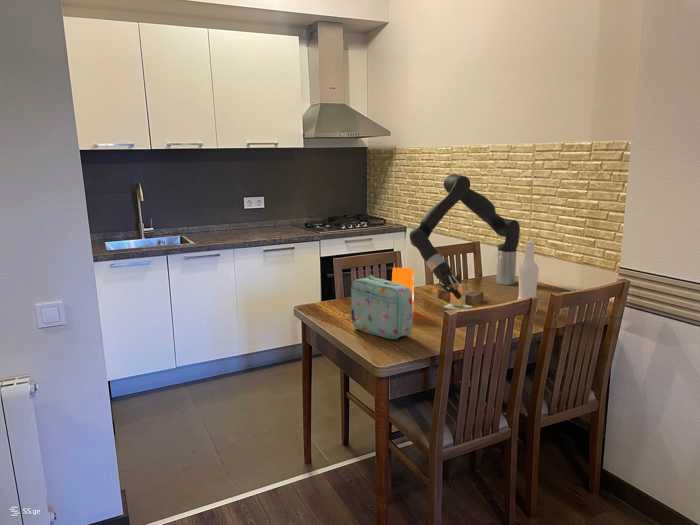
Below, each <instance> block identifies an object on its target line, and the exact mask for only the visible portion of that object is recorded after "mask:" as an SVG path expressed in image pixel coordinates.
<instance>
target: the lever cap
mask: <svg viewBox="0 0 700 525" xmlns="http://www.w3.org/2000/svg"><path fill="white" fill-rule="evenodd" d="M466 286H467V285H466V283H463V282H462V283H456V282H455V283H454V287H455V288H456V290H457V291H458V292H459V294H460V295H461V298H460V299H457V298H456V297H455V296H454V294H453V293H451V296H450V300H449V301H450V302H449V304H451V305H455V306H460V307H462V306H464V305H466V304H465V291H466V289H467V287H466Z"/></svg>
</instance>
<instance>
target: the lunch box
mask: <svg viewBox="0 0 700 525" xmlns="http://www.w3.org/2000/svg"><path fill="white" fill-rule="evenodd" d="M350 297H351V298H350V301H349V303H350V317H351V318H350V319H351V323H352V325H353V327H354V328H355V329H357V330H359V331H361V332H363V333H367V334H371V335H374V336H376V337H377V336H378V337H382V338H384V339H388V340H397V339H399V338H400V337H404V336H409V335H410V334H412V330H413V322H414V321H413V320H414V311H413V300H412V292H411V290H410V288H408V287H407V286H405V285H402V284H399V283H396V282H392V280H387V279H383V278H380V277H379V278H378V277H375V276H374V275H368V277H364V278H357V279H355V280H353V283H352V284H351V287H350Z"/></svg>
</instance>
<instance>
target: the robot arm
mask: <svg viewBox="0 0 700 525" xmlns="http://www.w3.org/2000/svg"><path fill="white" fill-rule="evenodd" d="M443 187H444V190H445V191H446V193H448V194H447V195H446V196H445V197H444V198H443V199H441V200H440V201H439V202H437V203H436V204H435V205H434V206H432V207H431V208H430V209H428V211H427V213H426V214H425V215H424V216H423V218H422V219H421V221H420V224H419V226H418V227H417V228H413V229H412V230H411V231H410V232H409V240H410V241H409V242H410V244H411V245H412V246H413V247H414V248H416V249H417V250H418V252H419V254H420V255H421V257H422V259H423V260H424V262H425V263H426V264H427V266H428V268H429V269H430V271H431V272H432V274H434V276H435V278H437V280H440V282H439V283H438V285H439V286H440V287H441V288H444V289H445V290H446V291H447V292H448V293H449V292H451V293H453V294H454V296H455V297H456V298H457V299H460V298H461V295H460V294H459V292H458V291H457V290H456V288H455V287H454V283H455V282H456V283H462V284H463V282H462V280H461V277H460V275H459V274H456V275H455V274H453V273H452V267H451V266H450V265H449V264H448V263H447V261H446V260H445V258H444V257H443V256H442V255H441V254H440V253H439V252H438V250H437V249H436V248H435V247H434V245H433V244H432V243H431V240H430V239H429V238H430V236H431V234H432V233H433V231H434V229H435V228H436V227H437V226H438V225H439V223H440V222H441V220H442V219H443V218H444V217H445V215H447V213H448V212H449V211H450V210H451V209H452V208H453V207H454V206H455V205H456V204H457V203H458V202H459V201H460V202H461V203H462V204H463V205H464V206H466V207H467V209H469V210H470V211H471V212H473V214H475V215H476V216H477V218H480V220H482V221H483V222H484V223H486V224H487V225H488V226H489V227H490V229H492V230H493V231H494V232H495V234H496V235H497V236H499V237H504V238H505V240H504V242H503V243H500V244H498V245H497V263H496V277H495V278H496V280H495V281H496V283H497V284H498V285H499V284H500V285H505V286H511V285H515V284H516V275H517V274H516V272H517V271H516V270H517V250H518V249H517V248H518V246H519V243H520V242H519V241H520V233H521V232H520V231H521V227H520V223H519V221H518V220H516V219H512V218H511V219H509V218H504V217H502V216H501V215H499V214H498V213H497V212H496V207H495V205H494V204H493V203H492V201H491V200H490V199H488V198H487V197H486V196H484V195H483V194H481V193H479V192H477V191H475V190H473V189H472V188H471V181H470V179H469V177H468V176H466V175H462V174H456V173H455V174H449V175H446V177H445V178H444V180H443ZM465 295H466V294H465Z"/></svg>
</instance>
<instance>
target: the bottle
mask: <svg viewBox="0 0 700 525" xmlns="http://www.w3.org/2000/svg"><path fill="white" fill-rule="evenodd" d="M524 248H525V250H524V259H523V262H522V263H520V265H519V266H518V298H517V300H519V299H523V298H527V297H536V296H537V288H538V287H537V286H538V279H539V266H538V264H537V263H536V261H535V248H536V246H535V241H534V240H525V247H524Z"/></svg>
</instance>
